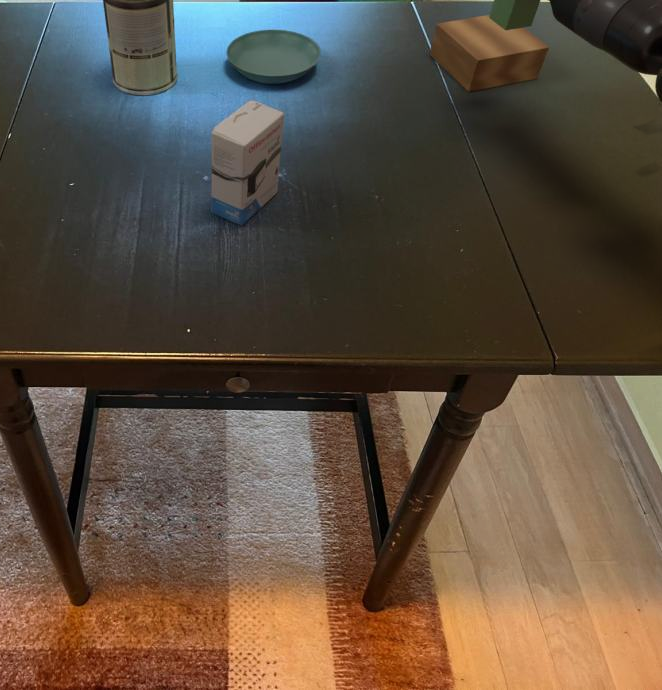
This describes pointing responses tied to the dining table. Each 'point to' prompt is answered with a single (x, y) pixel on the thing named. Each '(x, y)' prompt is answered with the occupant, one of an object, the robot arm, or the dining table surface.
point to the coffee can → (141, 45)
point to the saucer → (273, 55)
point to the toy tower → (514, 13)
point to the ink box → (246, 161)
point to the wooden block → (486, 53)
